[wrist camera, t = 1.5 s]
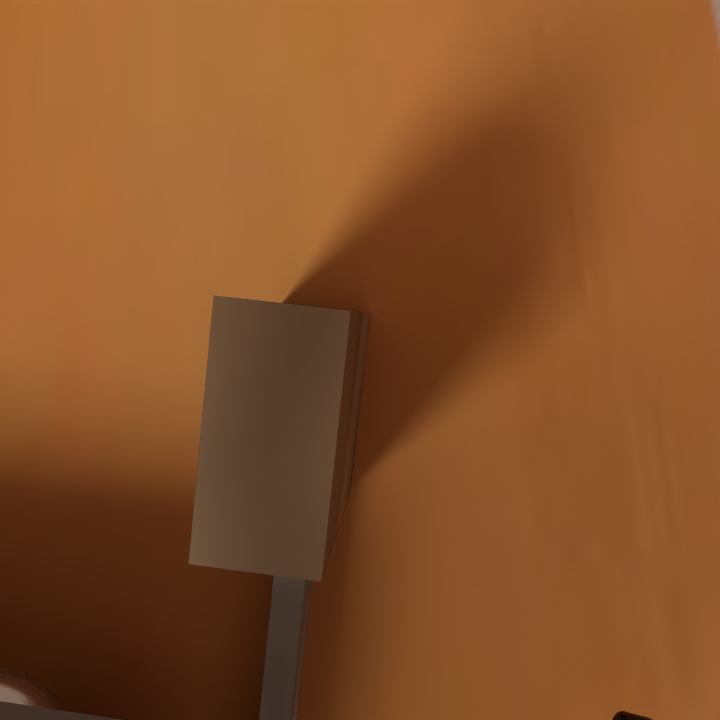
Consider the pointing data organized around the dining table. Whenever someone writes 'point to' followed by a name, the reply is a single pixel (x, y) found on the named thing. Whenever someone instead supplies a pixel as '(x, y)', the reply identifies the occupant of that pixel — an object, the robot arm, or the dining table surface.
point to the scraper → (277, 460)
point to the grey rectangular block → (41, 713)
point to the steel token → (25, 690)
